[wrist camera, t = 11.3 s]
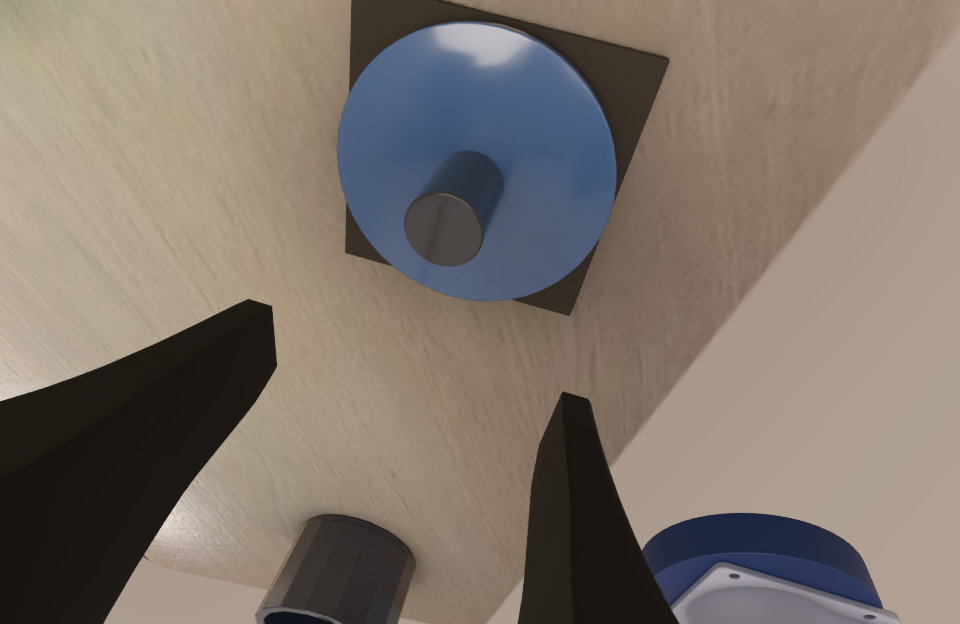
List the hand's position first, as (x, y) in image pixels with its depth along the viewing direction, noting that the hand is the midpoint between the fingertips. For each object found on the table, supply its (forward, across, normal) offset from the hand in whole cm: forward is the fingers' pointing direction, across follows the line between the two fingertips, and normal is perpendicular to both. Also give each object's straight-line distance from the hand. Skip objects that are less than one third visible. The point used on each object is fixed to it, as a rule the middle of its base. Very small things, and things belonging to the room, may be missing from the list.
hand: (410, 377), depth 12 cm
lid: (+8, +1, -2) cm, 8 cm away
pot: (+9, +4, +30) cm, 32 cm away
